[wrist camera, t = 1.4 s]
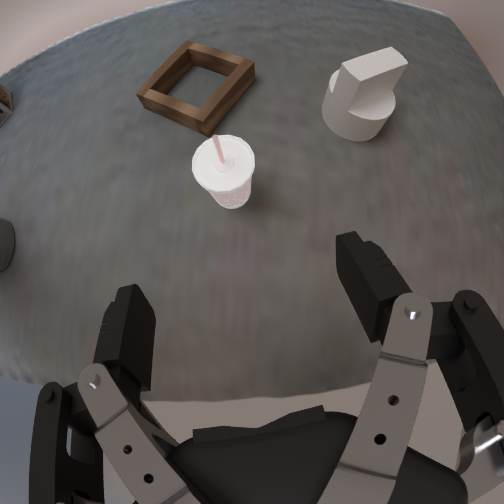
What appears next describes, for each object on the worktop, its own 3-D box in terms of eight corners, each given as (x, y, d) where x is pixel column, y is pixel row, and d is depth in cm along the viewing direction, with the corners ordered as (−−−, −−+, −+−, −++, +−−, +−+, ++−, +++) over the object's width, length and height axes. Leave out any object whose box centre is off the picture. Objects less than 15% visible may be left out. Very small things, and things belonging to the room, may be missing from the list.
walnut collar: (144, 108, 38) (135, 93, 34) (191, 56, 39) (186, 40, 35) (208, 136, 37) (203, 121, 33) (254, 79, 38) (254, 61, 34)
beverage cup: (266, 183, 36) (267, 125, 22) (239, 224, 36) (225, 185, 22) (225, 160, 37) (206, 97, 23) (198, 199, 36) (163, 151, 22)
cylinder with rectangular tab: (348, 151, 36) (378, 102, 24) (308, 104, 37) (322, 47, 25) (392, 127, 37) (426, 80, 25) (353, 84, 38) (375, 31, 26)
